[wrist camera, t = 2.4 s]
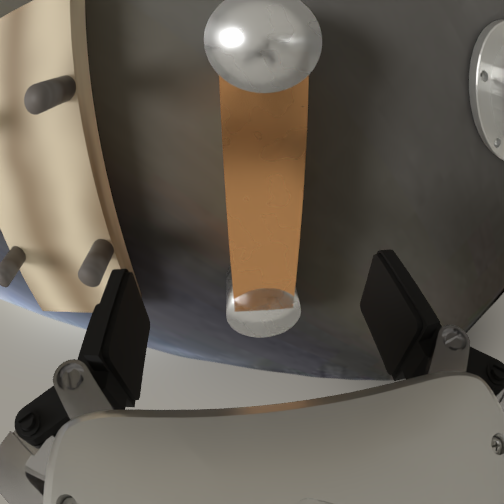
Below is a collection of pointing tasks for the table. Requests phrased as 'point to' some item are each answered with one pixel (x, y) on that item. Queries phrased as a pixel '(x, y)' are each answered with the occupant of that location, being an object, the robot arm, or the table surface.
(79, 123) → the tool rack
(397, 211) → the table surface
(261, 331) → the orange dumbbell
